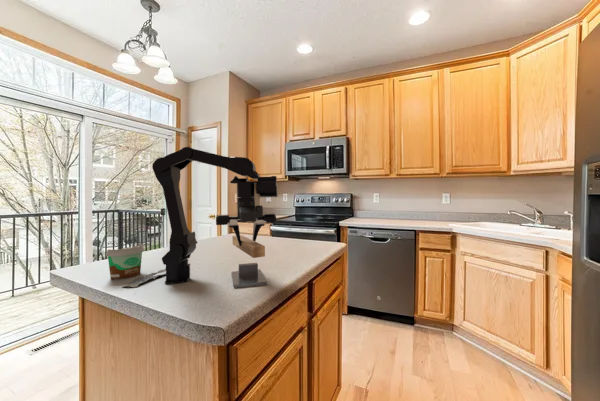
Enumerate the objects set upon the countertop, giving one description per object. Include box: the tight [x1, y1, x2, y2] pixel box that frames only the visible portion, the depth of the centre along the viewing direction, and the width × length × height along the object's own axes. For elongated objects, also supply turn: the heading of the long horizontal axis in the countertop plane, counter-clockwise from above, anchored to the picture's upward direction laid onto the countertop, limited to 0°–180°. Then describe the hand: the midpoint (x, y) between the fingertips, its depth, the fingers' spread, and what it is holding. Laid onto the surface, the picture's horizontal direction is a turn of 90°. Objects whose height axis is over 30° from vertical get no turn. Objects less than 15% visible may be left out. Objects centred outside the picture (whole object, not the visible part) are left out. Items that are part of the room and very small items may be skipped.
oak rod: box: [232, 234, 266, 259], centre depth 84 cm, size 4×24×3 cm, turn 28°
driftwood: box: [123, 268, 166, 288], centre depth 87 cm, size 21×7×2 cm, turn 164°
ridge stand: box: [230, 262, 268, 289], centre depth 85 cm, size 10×14×5 cm
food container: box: [105, 243, 145, 280], centre depth 89 cm, size 12×6×10 cm, turn 164°
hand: (246, 245), depth 84 cm, fingers closed on oak rod, 4 cm apart
